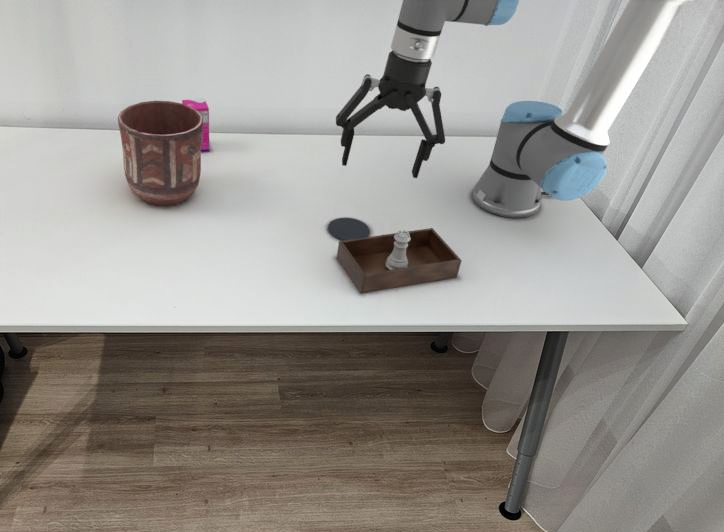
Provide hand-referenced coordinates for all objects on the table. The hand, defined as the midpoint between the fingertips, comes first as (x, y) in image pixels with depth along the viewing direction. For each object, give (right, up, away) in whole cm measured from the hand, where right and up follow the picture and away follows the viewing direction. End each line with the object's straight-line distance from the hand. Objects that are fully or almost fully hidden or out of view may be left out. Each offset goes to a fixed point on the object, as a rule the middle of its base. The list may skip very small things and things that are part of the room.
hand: (379, 168), depth 138 cm
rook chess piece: (+5, -18, +10) cm, 21 cm away
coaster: (-3, -8, +20) cm, 22 cm away
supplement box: (-38, +16, +45) cm, 62 cm away
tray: (+5, -18, +10) cm, 21 cm away
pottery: (-44, +1, +28) cm, 52 cm away
